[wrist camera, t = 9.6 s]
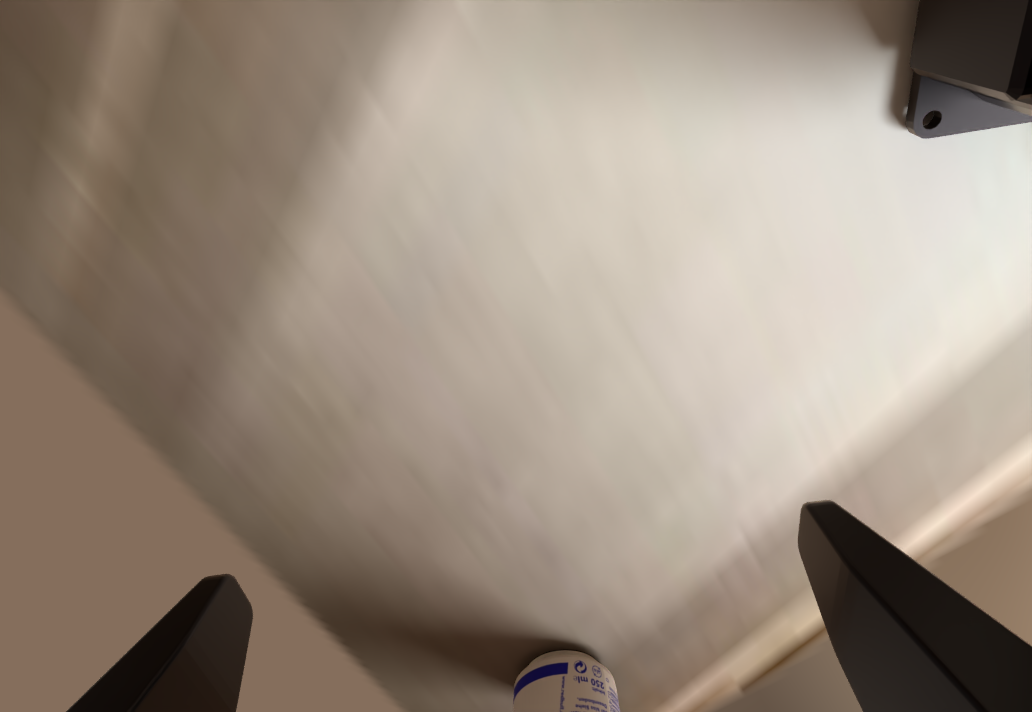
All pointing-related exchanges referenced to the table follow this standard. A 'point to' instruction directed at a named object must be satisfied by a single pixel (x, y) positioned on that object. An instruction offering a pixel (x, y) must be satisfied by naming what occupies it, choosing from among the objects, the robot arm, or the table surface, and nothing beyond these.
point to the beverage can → (565, 685)
